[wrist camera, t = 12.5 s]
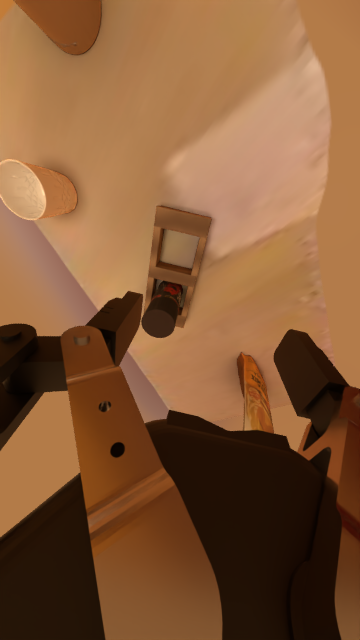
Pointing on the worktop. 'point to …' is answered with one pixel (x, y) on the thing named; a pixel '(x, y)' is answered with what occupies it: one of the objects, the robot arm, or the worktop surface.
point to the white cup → (35, 190)
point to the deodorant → (163, 310)
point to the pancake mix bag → (254, 396)
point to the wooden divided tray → (169, 272)
